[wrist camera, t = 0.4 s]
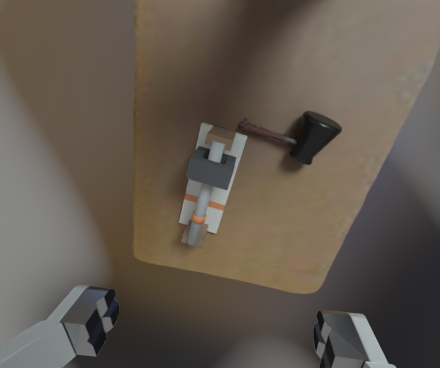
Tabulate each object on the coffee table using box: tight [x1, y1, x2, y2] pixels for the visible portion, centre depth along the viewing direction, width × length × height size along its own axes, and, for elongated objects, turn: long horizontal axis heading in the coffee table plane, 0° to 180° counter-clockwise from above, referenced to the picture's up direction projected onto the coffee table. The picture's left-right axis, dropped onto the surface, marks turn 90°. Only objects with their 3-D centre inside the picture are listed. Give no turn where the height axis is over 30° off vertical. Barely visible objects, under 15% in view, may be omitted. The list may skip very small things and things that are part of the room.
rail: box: [179, 122, 247, 248], centre depth 50 cm, size 26×10×10 cm, turn 165°
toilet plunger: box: [239, 111, 342, 165], centre depth 45 cm, size 8×18×8 cm
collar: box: [185, 146, 236, 190], centre depth 44 cm, size 4×8×8 cm, turn 75°
